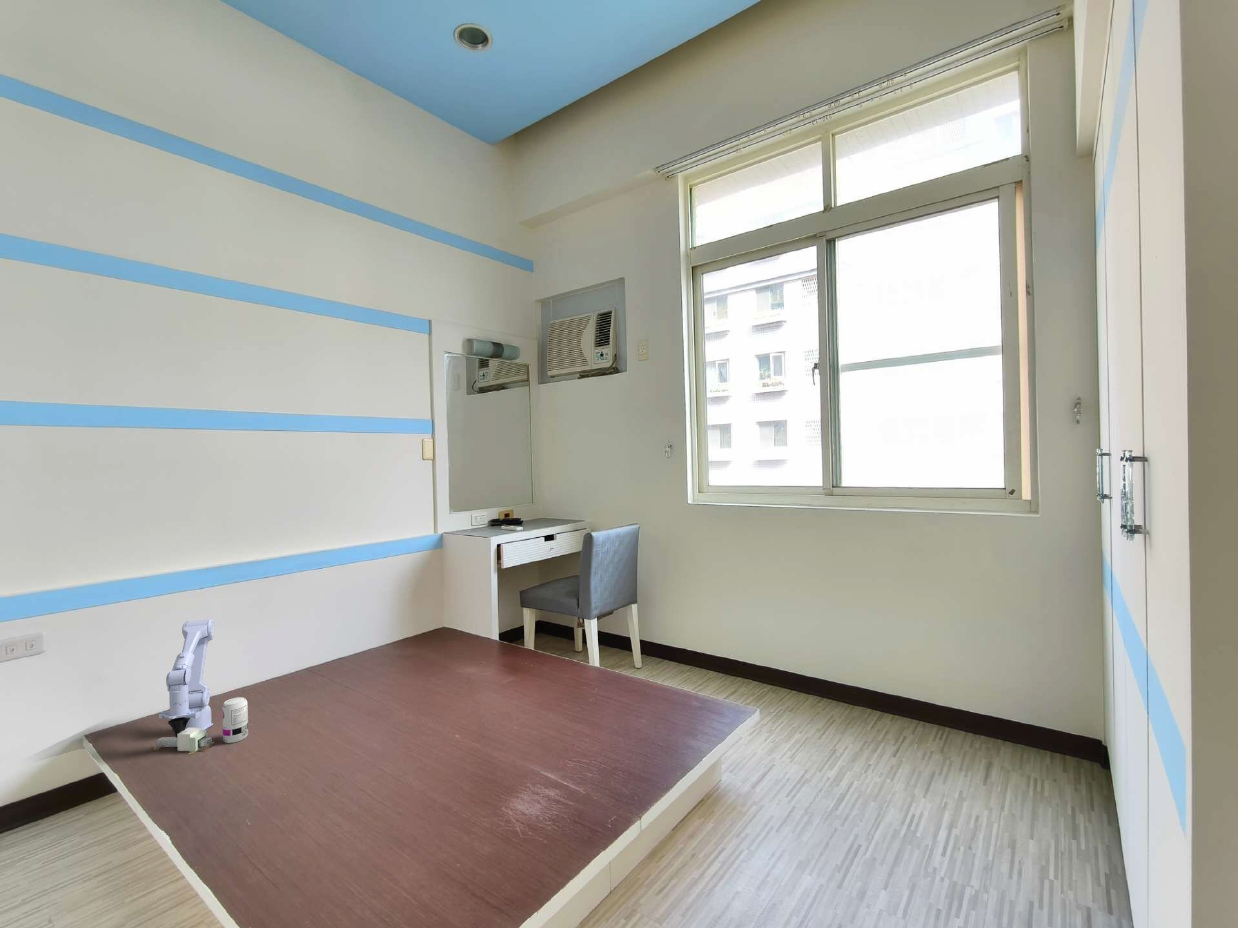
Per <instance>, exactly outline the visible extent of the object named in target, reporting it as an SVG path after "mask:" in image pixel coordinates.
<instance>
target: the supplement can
mask: <svg viewBox="0 0 1238 928" xmlns="http://www.w3.org/2000/svg"><path fill="white" fill-rule="evenodd" d="M248 709H249V708H248V700H247V699H246V697H244V696H237V697H233V698H230V699H228V700H226V701H224V703H223V705H222V711H221V712H222V715H221V717H222V741H223V742H225V744H233V743H237V742H240V741H243V740H244V739H246V738H247V736H249V715H248V714H249V712H248Z"/></svg>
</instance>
